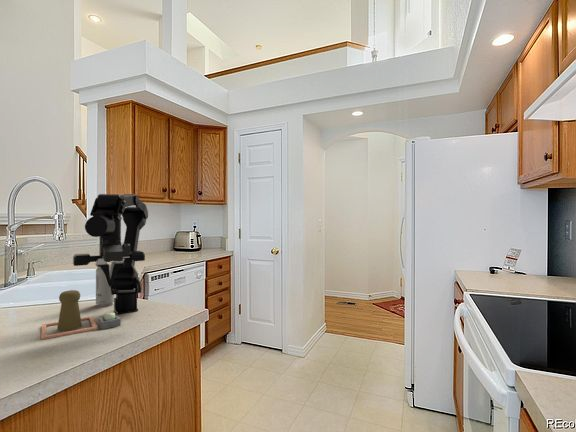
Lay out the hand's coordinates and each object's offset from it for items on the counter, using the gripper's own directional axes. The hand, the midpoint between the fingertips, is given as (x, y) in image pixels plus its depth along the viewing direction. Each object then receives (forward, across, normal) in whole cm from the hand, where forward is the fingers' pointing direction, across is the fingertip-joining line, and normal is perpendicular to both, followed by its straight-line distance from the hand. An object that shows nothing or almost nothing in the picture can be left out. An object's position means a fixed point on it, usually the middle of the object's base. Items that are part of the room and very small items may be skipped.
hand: (110, 285), depth 96 cm
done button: (+12, 0, 0) cm, 12 cm away
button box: (+12, 0, 0) cm, 12 cm away
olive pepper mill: (+12, -10, +4) cm, 16 cm away
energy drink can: (+12, +2, +26) cm, 29 cm away
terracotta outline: (+12, -10, +4) cm, 16 cm away
